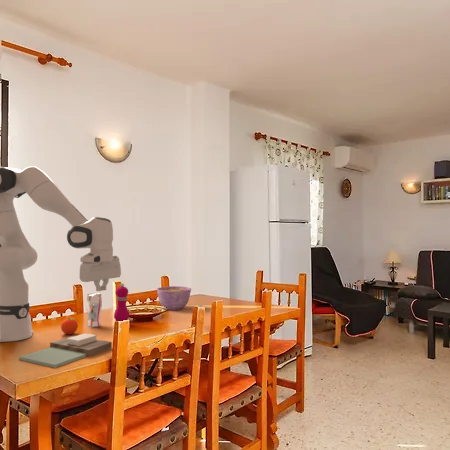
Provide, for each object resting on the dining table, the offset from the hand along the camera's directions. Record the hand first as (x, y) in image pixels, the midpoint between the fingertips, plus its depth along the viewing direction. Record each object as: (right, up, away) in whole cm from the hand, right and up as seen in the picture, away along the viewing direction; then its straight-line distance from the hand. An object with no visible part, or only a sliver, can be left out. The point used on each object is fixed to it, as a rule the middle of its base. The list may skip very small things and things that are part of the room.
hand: (101, 290), depth 171 cm
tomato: (-17, -21, +13) cm, 30 cm away
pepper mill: (+1, -22, +30) cm, 37 cm away
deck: (-5, -21, -9) cm, 24 cm away
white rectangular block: (-5, -19, -9) cm, 21 cm away
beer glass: (-12, -21, +28) cm, 37 cm away
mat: (-11, -21, -21) cm, 32 cm away
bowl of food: (+21, -22, +72) cm, 78 cm away
